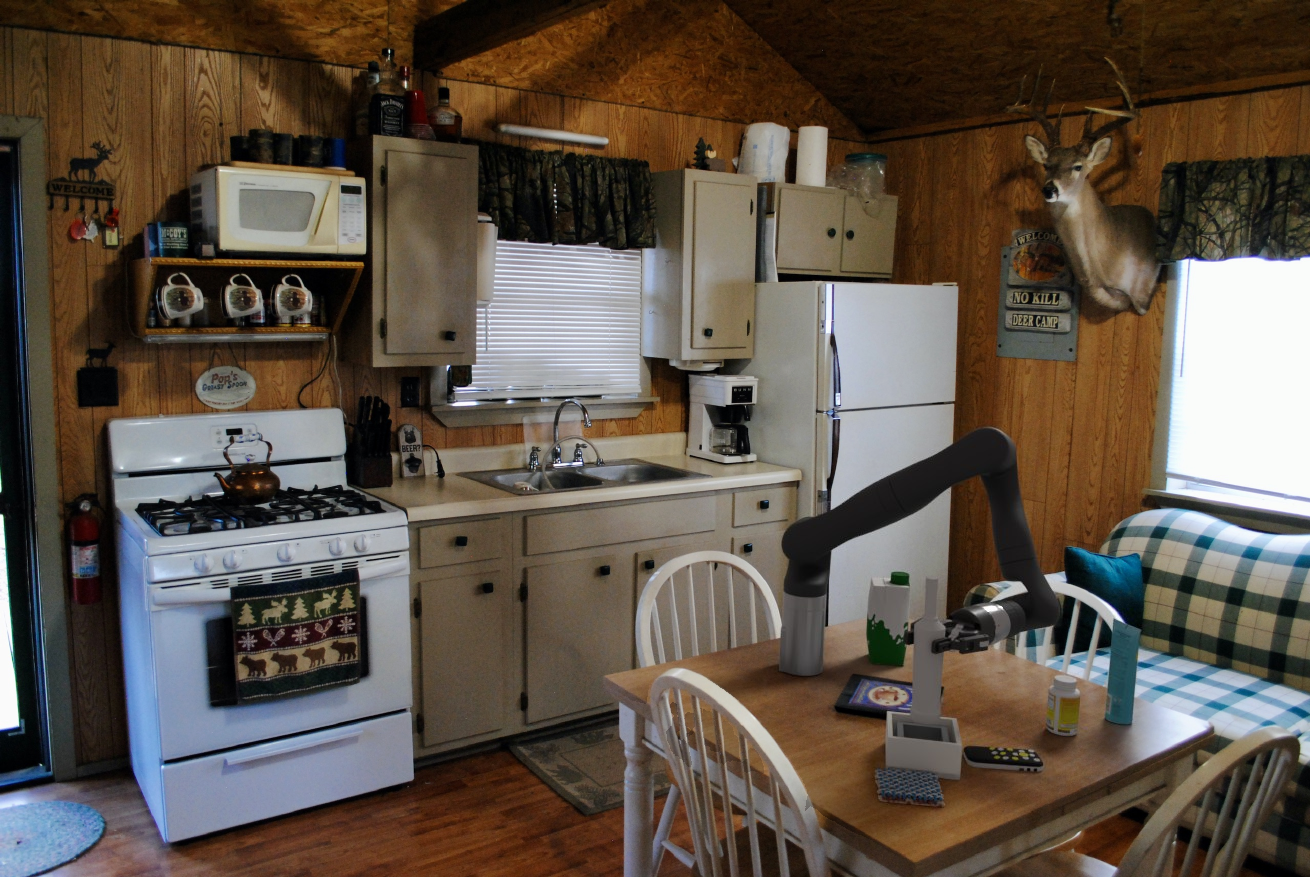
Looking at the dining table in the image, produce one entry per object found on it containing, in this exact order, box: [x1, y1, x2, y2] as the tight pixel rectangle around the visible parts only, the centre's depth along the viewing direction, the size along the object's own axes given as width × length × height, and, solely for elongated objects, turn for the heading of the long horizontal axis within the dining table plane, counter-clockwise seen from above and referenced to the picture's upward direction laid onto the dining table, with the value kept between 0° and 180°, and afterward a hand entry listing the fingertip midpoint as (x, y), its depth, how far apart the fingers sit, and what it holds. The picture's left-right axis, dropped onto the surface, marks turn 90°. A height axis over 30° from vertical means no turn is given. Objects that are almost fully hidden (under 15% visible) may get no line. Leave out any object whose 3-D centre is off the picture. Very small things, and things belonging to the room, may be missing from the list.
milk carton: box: [865, 571, 911, 667], centre depth 226 cm, size 9×9×20 cm
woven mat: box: [873, 766, 946, 808], centre depth 164 cm, size 10×11×2 cm
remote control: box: [962, 745, 1044, 773], centre depth 176 cm, size 6×13×2 cm, turn 84°
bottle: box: [909, 575, 946, 725], centre depth 173 cm, size 5×5×25 cm
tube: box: [1104, 618, 1142, 725], centre depth 195 cm, size 7×5×19 cm, turn 20°
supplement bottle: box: [1045, 674, 1081, 737], centre depth 189 cm, size 6×6×10 cm
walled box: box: [884, 710, 963, 781], centre depth 175 cm, size 12×12×6 cm
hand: (919, 643), depth 171 cm, fingers closed on bottle, 5 cm apart
